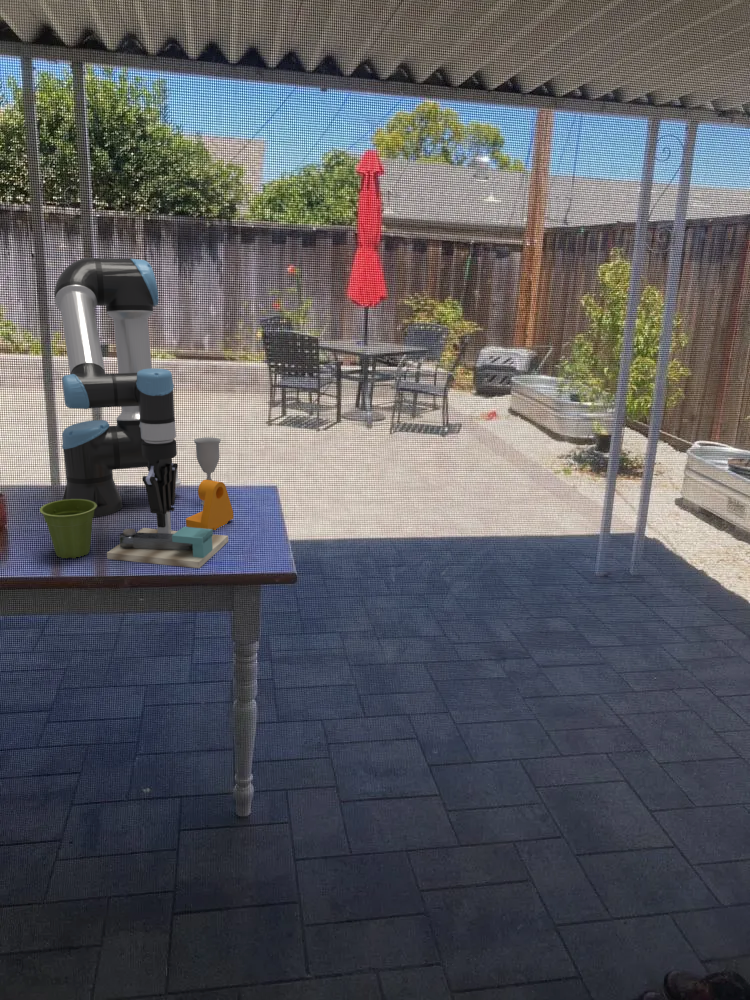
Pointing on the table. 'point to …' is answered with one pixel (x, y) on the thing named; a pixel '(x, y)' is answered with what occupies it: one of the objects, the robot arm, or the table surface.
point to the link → (152, 542)
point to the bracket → (212, 506)
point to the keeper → (195, 539)
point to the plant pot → (70, 526)
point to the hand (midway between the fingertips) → (164, 538)
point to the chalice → (207, 454)
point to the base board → (164, 552)
